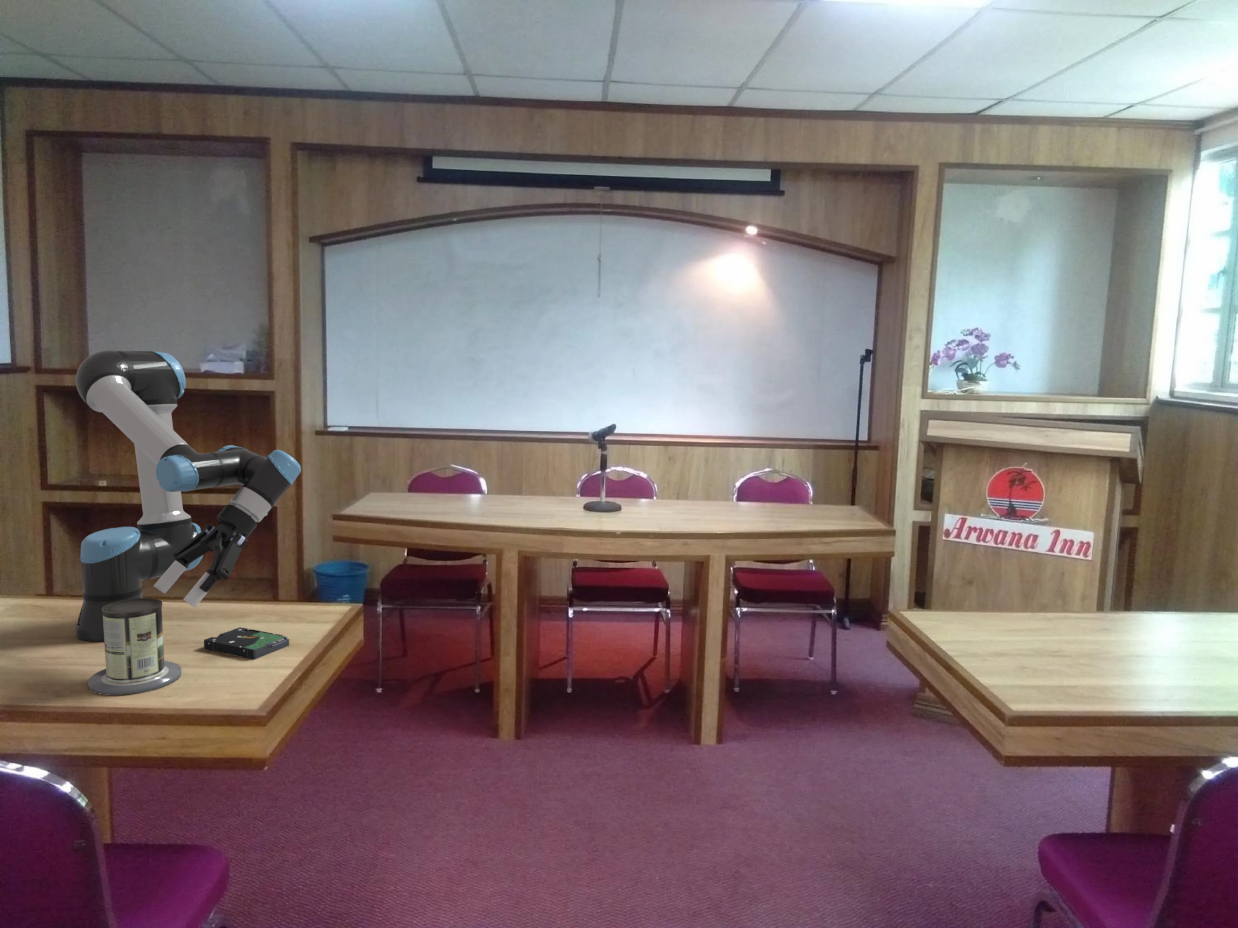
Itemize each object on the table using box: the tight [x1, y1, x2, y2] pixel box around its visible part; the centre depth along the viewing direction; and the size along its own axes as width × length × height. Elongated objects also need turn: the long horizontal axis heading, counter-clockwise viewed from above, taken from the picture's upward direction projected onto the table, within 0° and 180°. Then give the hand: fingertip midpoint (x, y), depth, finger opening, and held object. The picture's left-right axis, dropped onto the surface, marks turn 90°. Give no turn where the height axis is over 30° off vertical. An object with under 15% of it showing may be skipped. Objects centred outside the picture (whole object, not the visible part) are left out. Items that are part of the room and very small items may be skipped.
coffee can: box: [102, 597, 165, 683], centre depth 167 cm, size 10×10×14 cm
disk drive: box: [203, 626, 290, 660], centre depth 188 cm, size 10×3×15 cm
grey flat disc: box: [87, 660, 182, 696], centre depth 168 cm, size 16×16×1 cm
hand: (173, 596), depth 171 cm, fingers open, 13 cm apart
